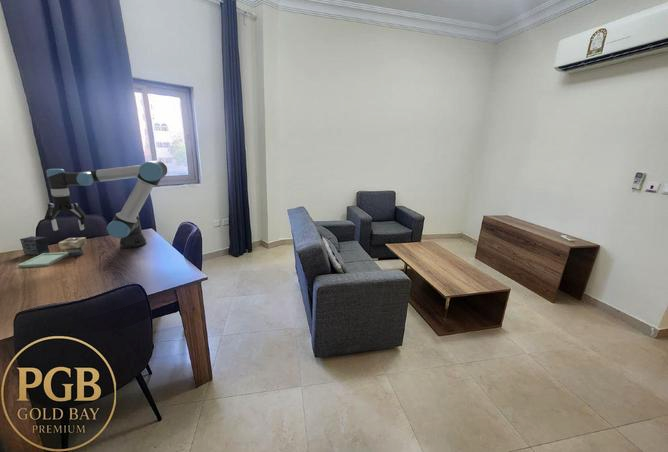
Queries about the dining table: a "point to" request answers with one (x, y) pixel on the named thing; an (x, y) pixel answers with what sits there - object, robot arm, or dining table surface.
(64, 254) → the tray
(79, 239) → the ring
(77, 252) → the dark grey rounded piece
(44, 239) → the small box
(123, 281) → the dining table surface
